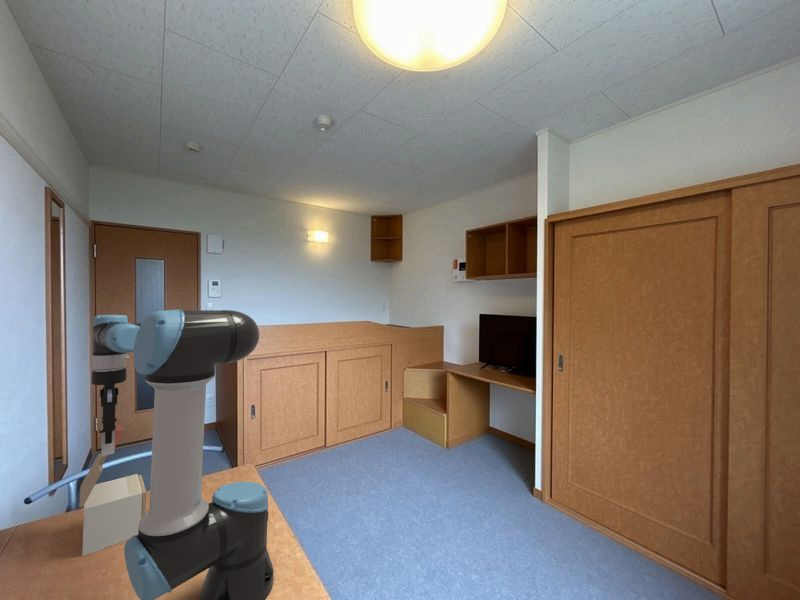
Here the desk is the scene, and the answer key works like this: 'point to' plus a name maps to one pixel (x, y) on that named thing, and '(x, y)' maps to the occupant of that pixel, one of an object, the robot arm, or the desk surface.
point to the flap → (96, 470)
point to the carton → (113, 512)
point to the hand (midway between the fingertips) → (107, 450)
